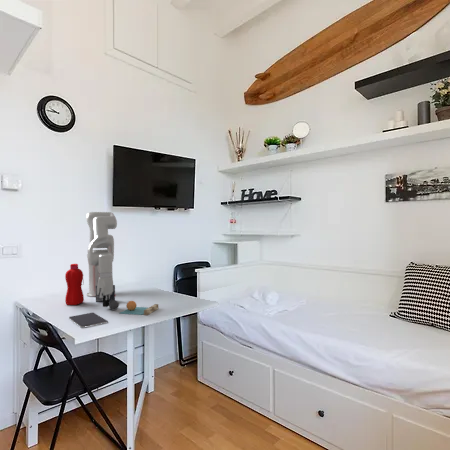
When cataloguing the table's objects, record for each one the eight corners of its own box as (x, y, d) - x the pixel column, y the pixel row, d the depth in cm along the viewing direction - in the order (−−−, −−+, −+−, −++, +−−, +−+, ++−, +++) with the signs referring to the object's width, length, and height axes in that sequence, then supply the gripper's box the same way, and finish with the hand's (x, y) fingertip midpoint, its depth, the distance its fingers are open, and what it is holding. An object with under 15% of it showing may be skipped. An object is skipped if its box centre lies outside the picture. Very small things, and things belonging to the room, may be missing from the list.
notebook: (107, 323, 162) (93, 315, 178) (107, 320, 162) (93, 312, 178) (81, 329, 153) (68, 319, 169) (81, 326, 153) (68, 316, 169)
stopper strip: (155, 308, 188) (155, 304, 188) (158, 308, 188) (158, 304, 188) (143, 315, 175) (143, 310, 175) (147, 315, 174) (147, 310, 174)
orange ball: (131, 298, 187) (139, 302, 186) (128, 306, 188) (136, 310, 187) (126, 300, 182) (134, 304, 181) (123, 308, 182) (131, 313, 181)
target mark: (132, 306, 192) (132, 306, 192) (153, 308, 189) (153, 307, 189) (119, 313, 178) (119, 313, 178) (142, 314, 175) (142, 314, 175)
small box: (115, 300, 208) (115, 284, 208) (109, 303, 201) (109, 286, 201) (101, 299, 211) (101, 283, 211) (95, 302, 204) (95, 285, 204)
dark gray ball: (118, 297, 188) (122, 306, 188) (111, 300, 190) (115, 309, 189) (112, 300, 183) (116, 309, 183) (105, 303, 184) (109, 312, 184)
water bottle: (78, 306, 195) (78, 265, 195) (63, 305, 197) (62, 264, 197) (88, 302, 204) (87, 263, 204) (73, 301, 206) (72, 262, 206)
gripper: (107, 273, 196) (107, 302, 196) (91, 277, 181) (92, 309, 182) (118, 273, 194) (118, 303, 194) (103, 277, 180) (104, 310, 180)
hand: (106, 306), depth 188 cm, fingers closed
